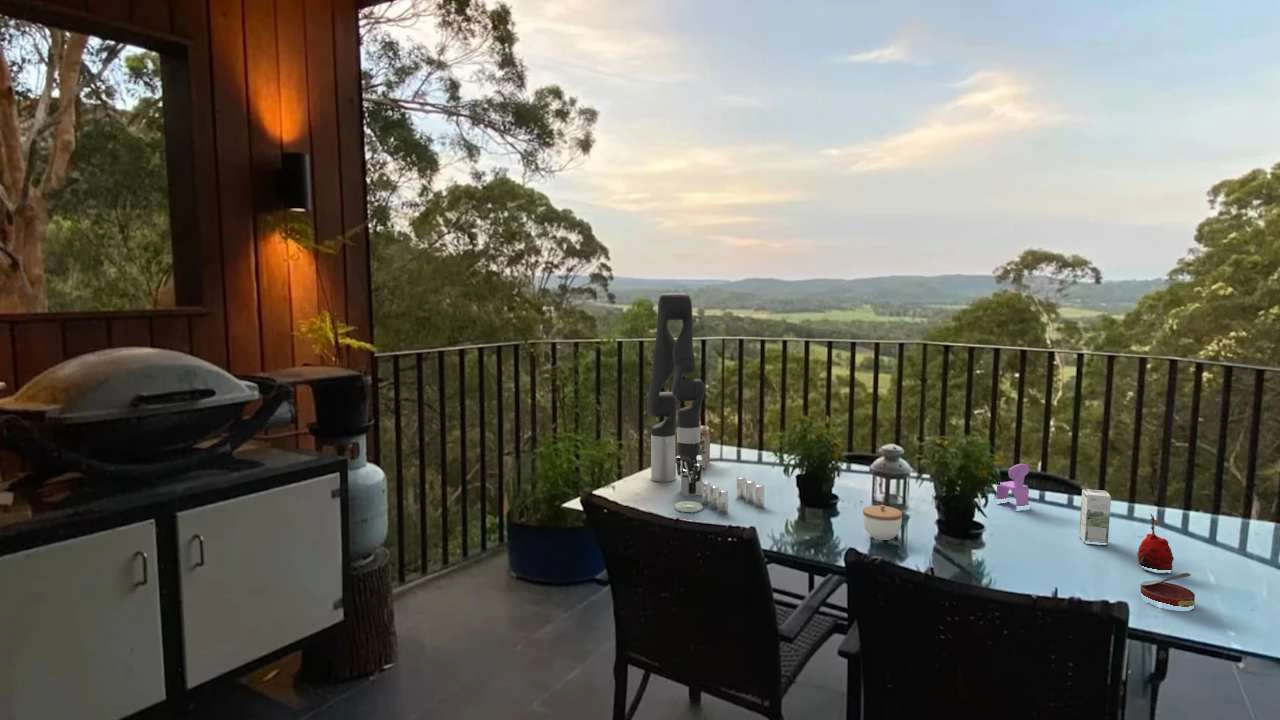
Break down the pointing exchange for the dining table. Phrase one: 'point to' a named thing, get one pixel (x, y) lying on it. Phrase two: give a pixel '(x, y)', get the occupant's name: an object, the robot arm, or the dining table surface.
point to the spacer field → (721, 496)
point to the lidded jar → (882, 521)
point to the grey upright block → (686, 486)
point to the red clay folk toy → (1155, 551)
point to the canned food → (1168, 592)
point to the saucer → (688, 506)
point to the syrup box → (1095, 515)
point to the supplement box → (698, 484)
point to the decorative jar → (704, 445)
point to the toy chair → (1015, 485)
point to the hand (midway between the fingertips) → (688, 491)
